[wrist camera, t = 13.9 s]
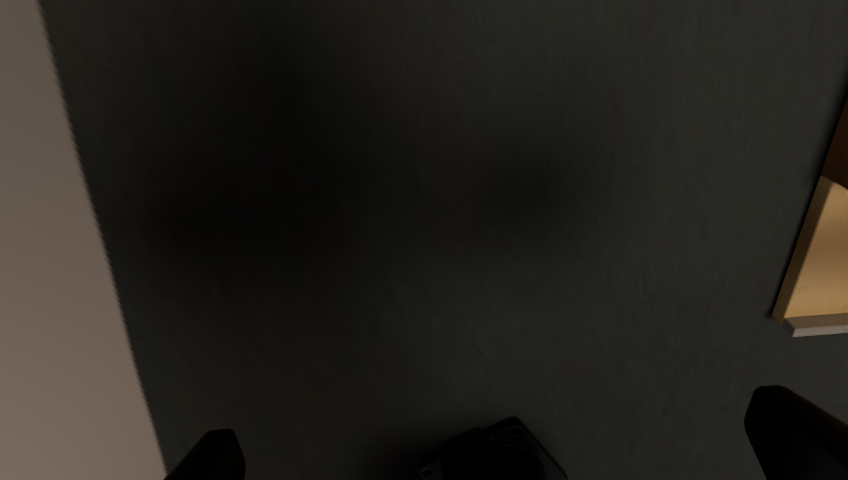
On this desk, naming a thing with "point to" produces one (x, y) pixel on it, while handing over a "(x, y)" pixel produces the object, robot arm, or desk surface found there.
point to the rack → (821, 253)
